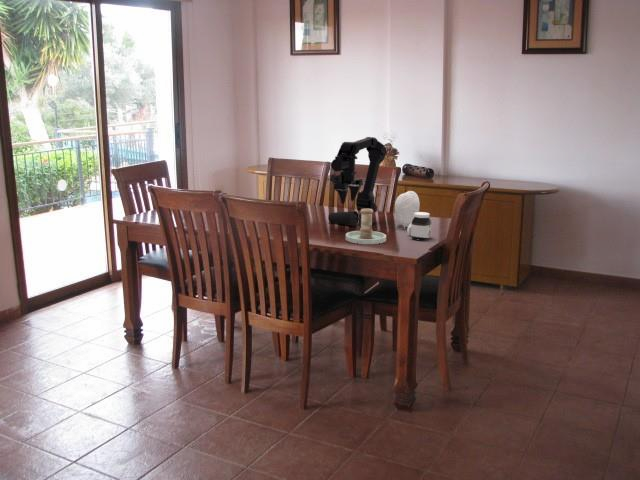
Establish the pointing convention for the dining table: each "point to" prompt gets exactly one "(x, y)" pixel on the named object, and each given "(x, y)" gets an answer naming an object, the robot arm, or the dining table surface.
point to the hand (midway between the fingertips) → (347, 202)
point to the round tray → (355, 238)
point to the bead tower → (366, 223)
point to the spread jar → (420, 226)
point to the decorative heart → (406, 207)
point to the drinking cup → (344, 218)
